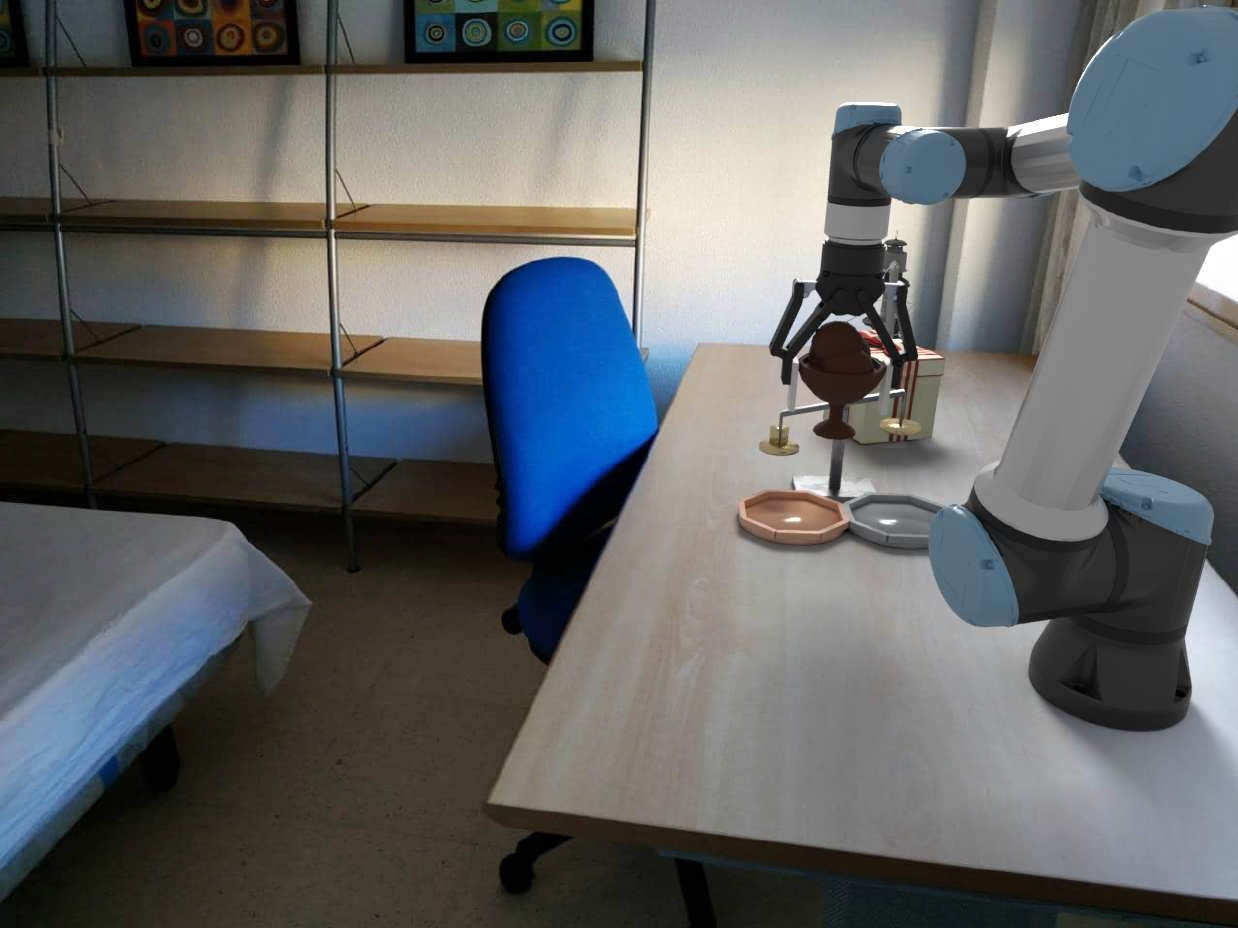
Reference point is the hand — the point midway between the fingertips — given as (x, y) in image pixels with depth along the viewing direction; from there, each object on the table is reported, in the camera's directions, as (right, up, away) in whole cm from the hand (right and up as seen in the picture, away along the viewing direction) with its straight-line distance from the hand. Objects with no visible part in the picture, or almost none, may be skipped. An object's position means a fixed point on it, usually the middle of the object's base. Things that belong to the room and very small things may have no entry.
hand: (836, 410), depth 127 cm
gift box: (+20, -1, +52) cm, 56 cm away
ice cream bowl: (0, -3, +1) cm, 3 cm away
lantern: (+28, +14, +89) cm, 94 cm away
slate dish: (+12, -16, +12) cm, 23 cm away
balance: (+5, -12, +23) cm, 26 cm away
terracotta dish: (-3, -15, +13) cm, 20 cm away
